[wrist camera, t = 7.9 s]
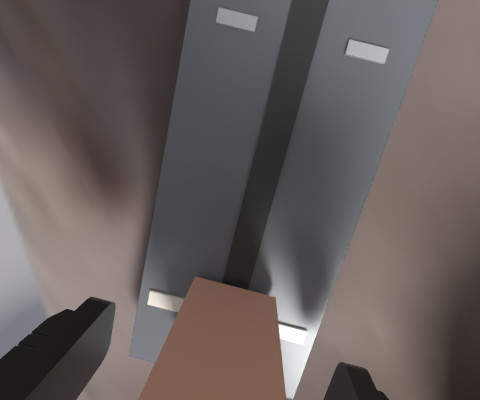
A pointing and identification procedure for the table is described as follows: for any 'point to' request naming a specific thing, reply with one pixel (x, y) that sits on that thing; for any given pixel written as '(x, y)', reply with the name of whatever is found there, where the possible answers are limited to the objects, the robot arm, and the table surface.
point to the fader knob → (220, 348)
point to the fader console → (273, 154)
